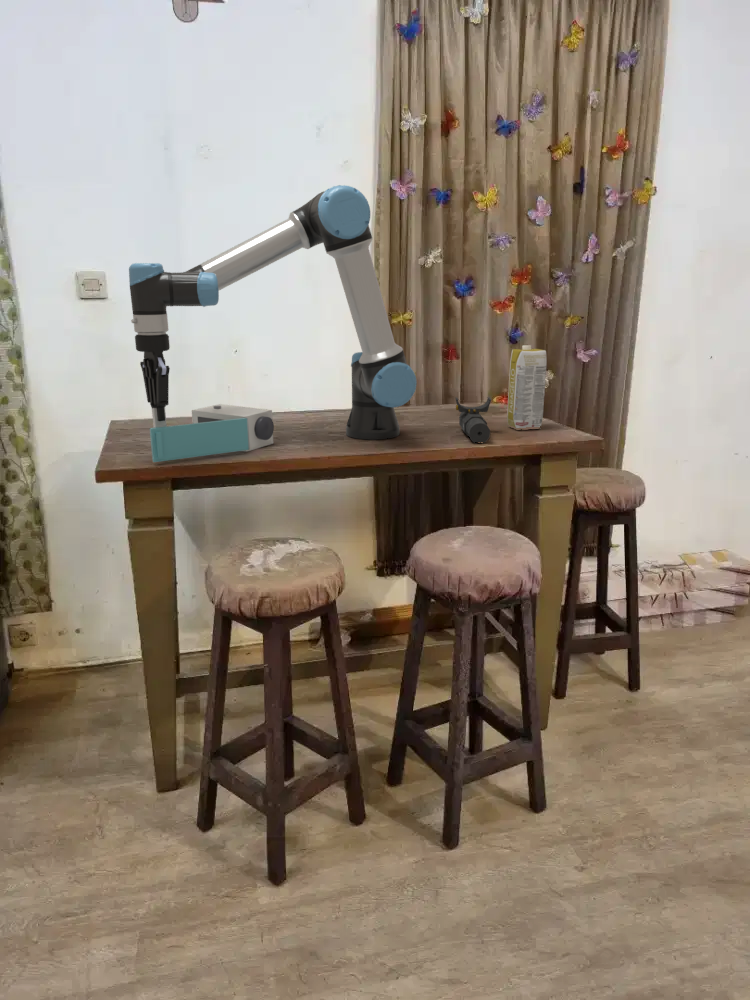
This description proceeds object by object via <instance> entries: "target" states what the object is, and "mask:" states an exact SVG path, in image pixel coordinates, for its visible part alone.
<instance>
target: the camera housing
mask: <svg viewBox="0 0 750 1000" xmlns="http://www.w3.org/2000/svg"><path fill="white" fill-rule="evenodd" d="M239 418H248V424H249V443H250V449H249V450H243V451H242V452H245V453H247V452H250V451H253V450H257V449H261V448H263V447H266V446H270V445H273V444H274V429H275V426H274V420H273V410H272V409H265V408H257V407H249V406H248V407H247V406H241V405H240V406H239V405H233V404H232V405H230V404H222V403H218V404H215V405H209V406H204V407H201V408H196V409H192V410H191V420H192V421H191V423H192V424H193V423H202V422H211V421H221V420H230V419H239Z"/></svg>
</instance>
